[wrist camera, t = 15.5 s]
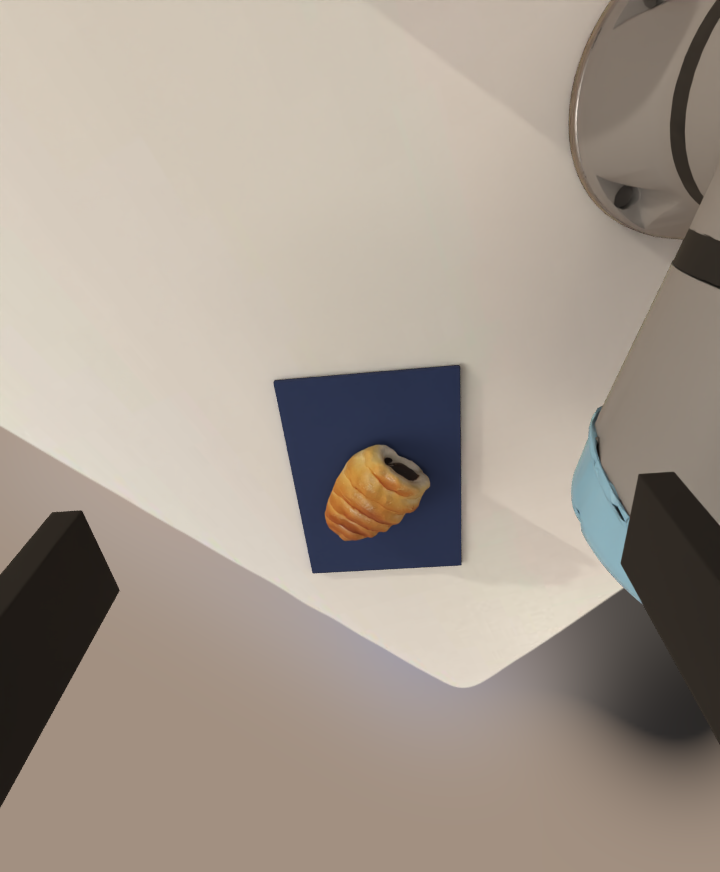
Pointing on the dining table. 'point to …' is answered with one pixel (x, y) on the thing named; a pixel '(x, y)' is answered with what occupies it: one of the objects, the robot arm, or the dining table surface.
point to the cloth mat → (367, 426)
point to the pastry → (374, 493)
